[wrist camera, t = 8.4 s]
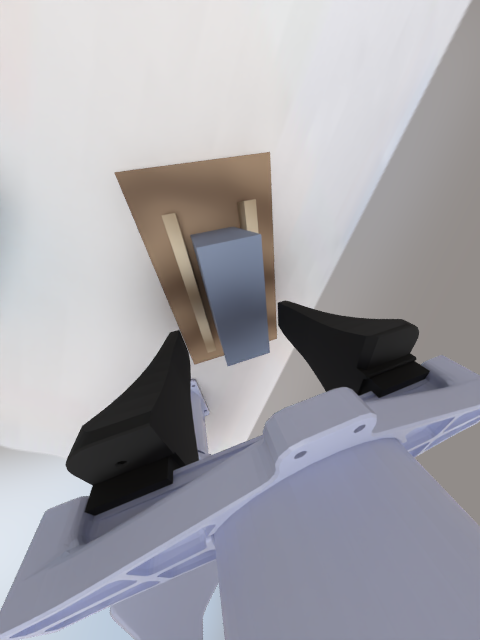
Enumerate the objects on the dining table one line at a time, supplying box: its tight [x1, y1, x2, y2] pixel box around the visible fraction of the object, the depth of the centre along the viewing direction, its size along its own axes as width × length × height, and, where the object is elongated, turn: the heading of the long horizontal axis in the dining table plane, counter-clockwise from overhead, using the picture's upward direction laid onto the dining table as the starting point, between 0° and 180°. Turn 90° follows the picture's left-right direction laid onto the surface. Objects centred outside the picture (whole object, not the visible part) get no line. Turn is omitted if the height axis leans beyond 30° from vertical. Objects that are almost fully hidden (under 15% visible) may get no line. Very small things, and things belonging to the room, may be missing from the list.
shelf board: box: [114, 152, 277, 365], centre depth 19 cm, size 20×12×4 cm, turn 8°
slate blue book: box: [190, 227, 270, 366], centre depth 16 cm, size 10×4×7 cm, turn 8°
